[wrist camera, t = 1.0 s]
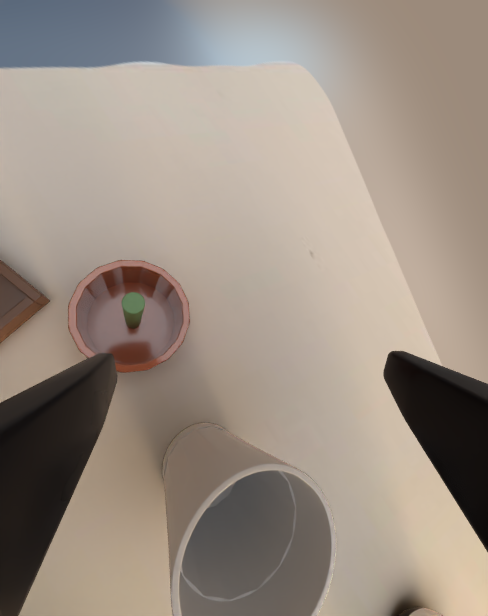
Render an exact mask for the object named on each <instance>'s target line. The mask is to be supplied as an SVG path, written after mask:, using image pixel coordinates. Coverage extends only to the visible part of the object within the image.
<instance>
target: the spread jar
mask: <svg viewBox="0 0 488 616" xmlns="http://www.w3.org/2000/svg"><path fill="white" fill-rule="evenodd" d="M398 616H442V615H441V614H439V613H437V612H435V611H433V610H430V609H427V608H422V607H414V608H409V609H407V610H405V611H403V612H402V613H400V614H399V615H398Z"/></svg>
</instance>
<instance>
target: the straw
mask: <svg viewBox="0 0 488 616" xmlns="http://www.w3.org/2000/svg"><path fill="white" fill-rule="evenodd" d="M144 307H145V299H144V297H143V296H142V295H141V294H139V293H136V292H131V293H128V294H126V295H125V296H124V297H123V299H122V309H123V313H124V317H125V322H126V325H127V326H128V327H129V328H136V327H138V326H139V325H140V322H141V318H142V314H143V311H144Z"/></svg>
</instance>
